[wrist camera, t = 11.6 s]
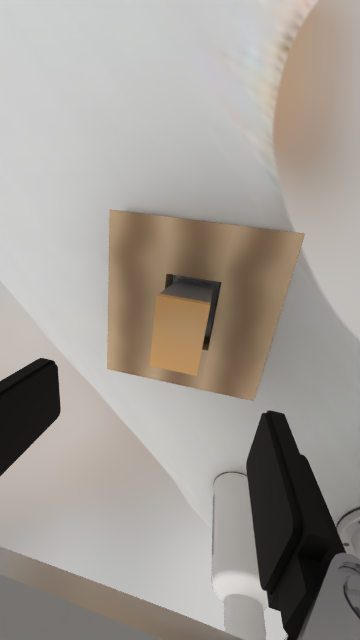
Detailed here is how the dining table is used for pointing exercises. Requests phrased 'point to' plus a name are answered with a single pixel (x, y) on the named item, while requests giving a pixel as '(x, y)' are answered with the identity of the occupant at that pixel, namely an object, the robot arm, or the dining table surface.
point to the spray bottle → (236, 559)
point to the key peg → (180, 325)
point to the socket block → (203, 263)
